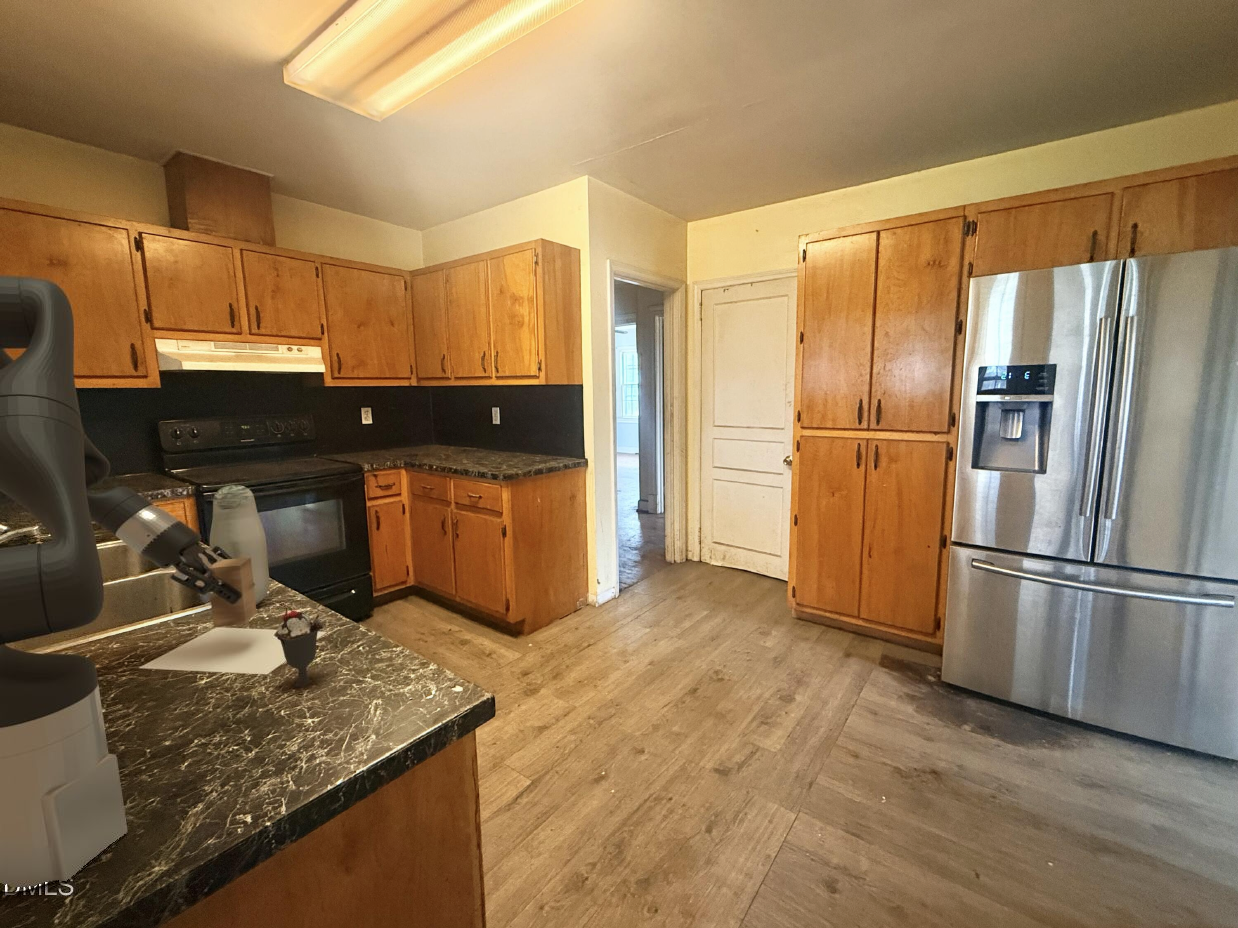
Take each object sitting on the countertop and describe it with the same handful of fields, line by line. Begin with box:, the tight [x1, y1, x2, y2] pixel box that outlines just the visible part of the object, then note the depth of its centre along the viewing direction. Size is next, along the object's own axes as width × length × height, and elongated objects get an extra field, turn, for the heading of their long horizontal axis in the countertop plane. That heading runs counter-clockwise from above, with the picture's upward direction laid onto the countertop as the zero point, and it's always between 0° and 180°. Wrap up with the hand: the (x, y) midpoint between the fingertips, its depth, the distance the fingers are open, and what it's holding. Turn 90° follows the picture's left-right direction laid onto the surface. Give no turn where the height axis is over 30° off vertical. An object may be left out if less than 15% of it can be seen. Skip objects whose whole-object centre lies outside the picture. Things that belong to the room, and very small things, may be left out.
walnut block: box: [209, 557, 257, 628], centre depth 97 cm, size 5×5×11 cm
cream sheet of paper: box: [138, 627, 328, 675], centre depth 98 cm, size 24×16×1 cm, turn 85°
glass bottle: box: [209, 484, 270, 606], centre depth 118 cm, size 10×10×28 cm
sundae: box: [274, 602, 324, 697], centre depth 86 cm, size 7×7×15 cm
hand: (244, 594), depth 97 cm, fingers closed on walnut block, 5 cm apart
